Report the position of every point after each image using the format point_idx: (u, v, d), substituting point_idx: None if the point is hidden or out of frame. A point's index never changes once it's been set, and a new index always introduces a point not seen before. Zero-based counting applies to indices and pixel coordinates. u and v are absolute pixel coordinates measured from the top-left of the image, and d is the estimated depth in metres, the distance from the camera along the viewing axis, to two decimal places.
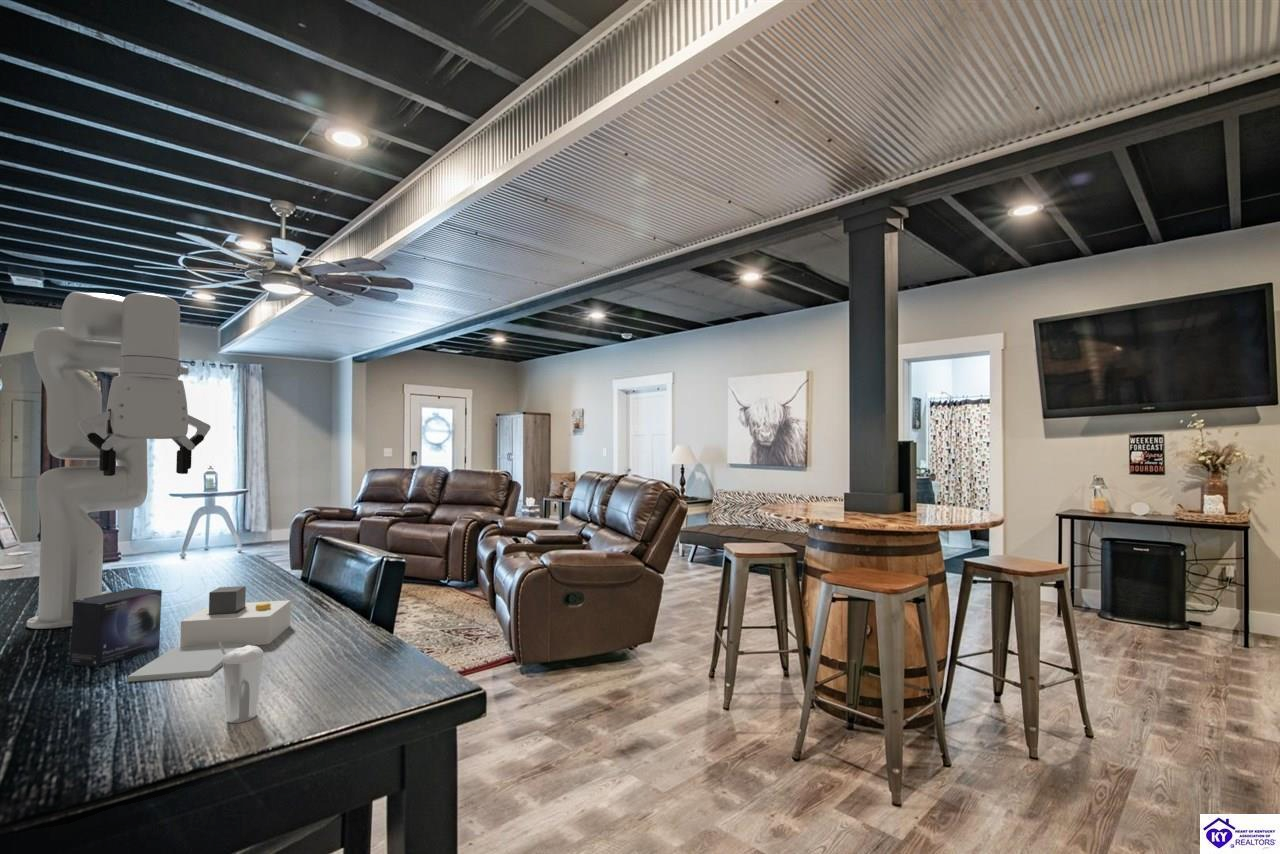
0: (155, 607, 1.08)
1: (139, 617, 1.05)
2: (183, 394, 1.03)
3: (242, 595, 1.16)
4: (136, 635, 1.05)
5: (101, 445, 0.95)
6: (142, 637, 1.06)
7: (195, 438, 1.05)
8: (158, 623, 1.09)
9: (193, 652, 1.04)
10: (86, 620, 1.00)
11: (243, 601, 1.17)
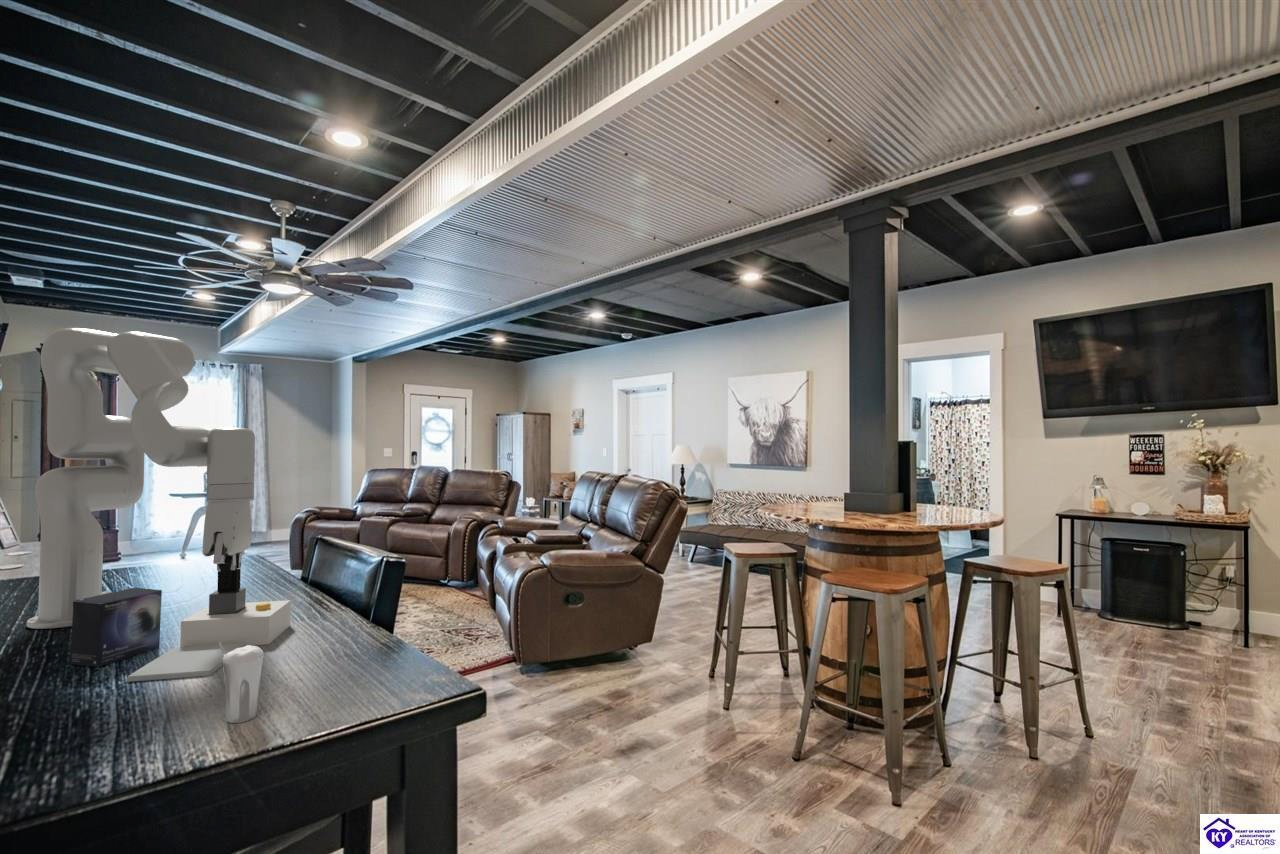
0: (155, 607, 1.08)
1: (139, 617, 1.05)
2: (250, 510, 1.20)
3: (242, 597, 1.16)
4: (136, 635, 1.05)
5: (232, 569, 1.14)
6: (142, 637, 1.06)
7: None
8: (158, 623, 1.09)
9: (193, 652, 1.04)
10: (86, 620, 1.00)
11: (243, 603, 1.16)
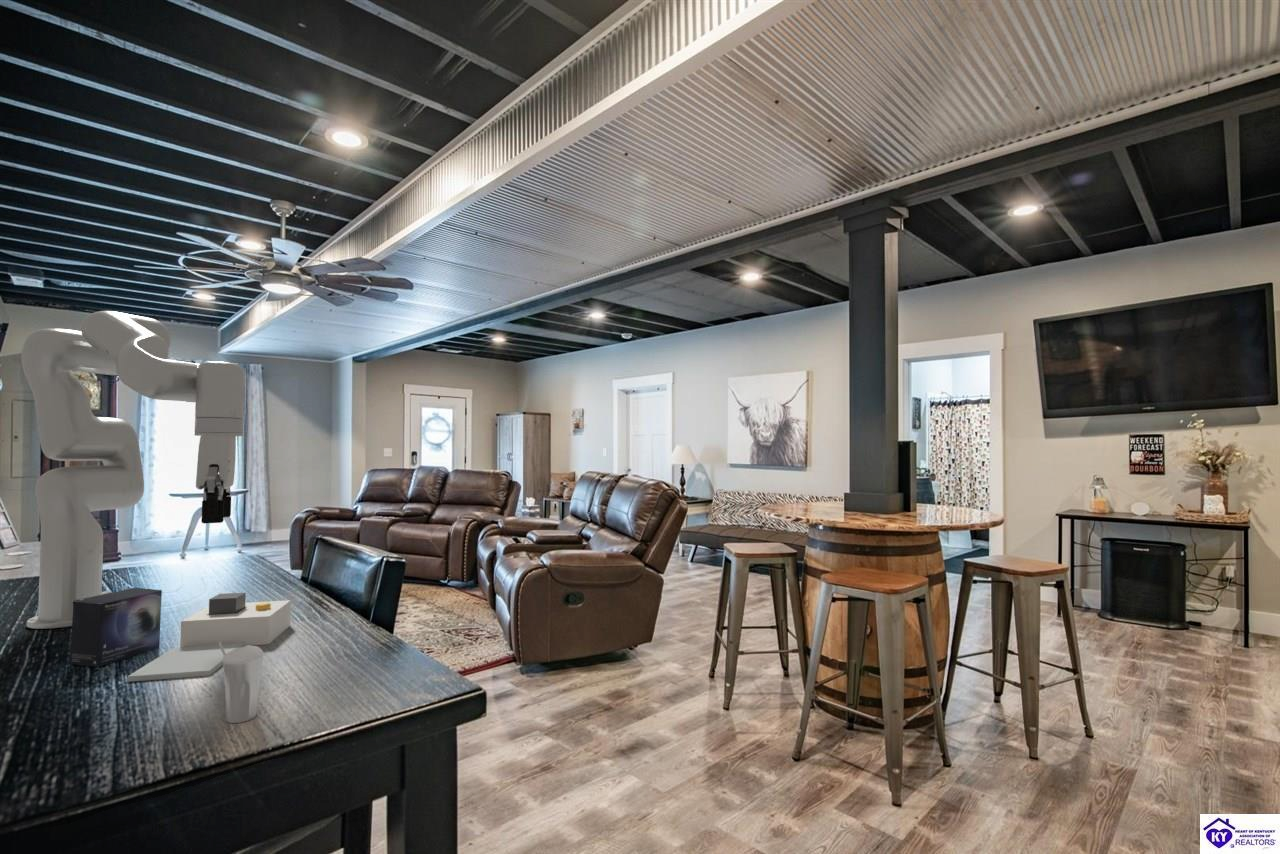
0: (155, 607, 1.08)
1: (139, 617, 1.05)
2: None
3: (242, 602, 1.16)
4: (136, 635, 1.05)
5: (219, 496, 1.09)
6: (142, 637, 1.06)
7: None
8: (158, 623, 1.09)
9: (193, 652, 1.04)
10: (86, 620, 1.00)
11: (243, 608, 1.16)
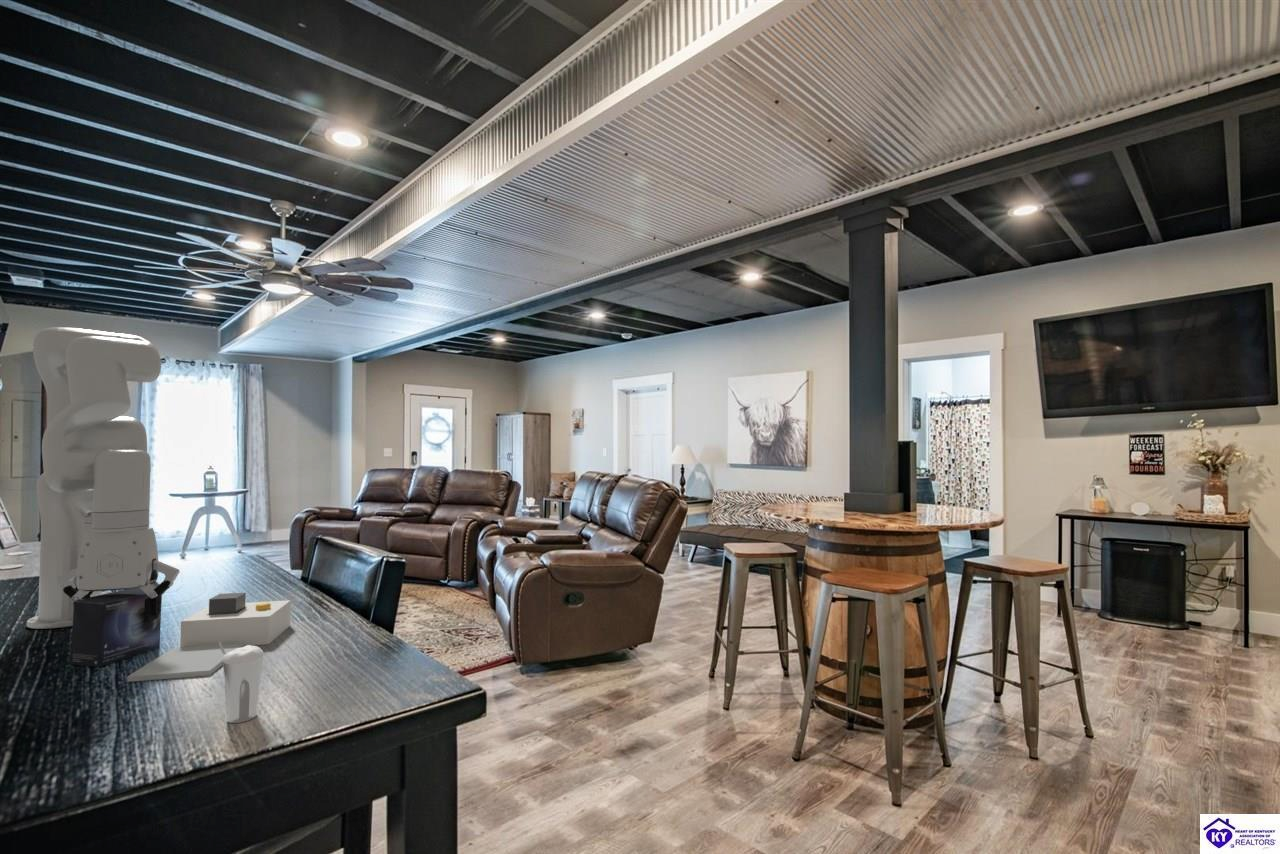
0: None
1: (140, 616, 1.05)
2: None
3: (242, 602, 1.16)
4: (137, 634, 1.05)
5: (163, 590, 1.07)
6: (142, 637, 1.06)
7: (78, 588, 1.04)
8: (158, 623, 1.09)
9: (193, 652, 1.04)
10: (87, 620, 1.00)
11: (243, 608, 1.16)
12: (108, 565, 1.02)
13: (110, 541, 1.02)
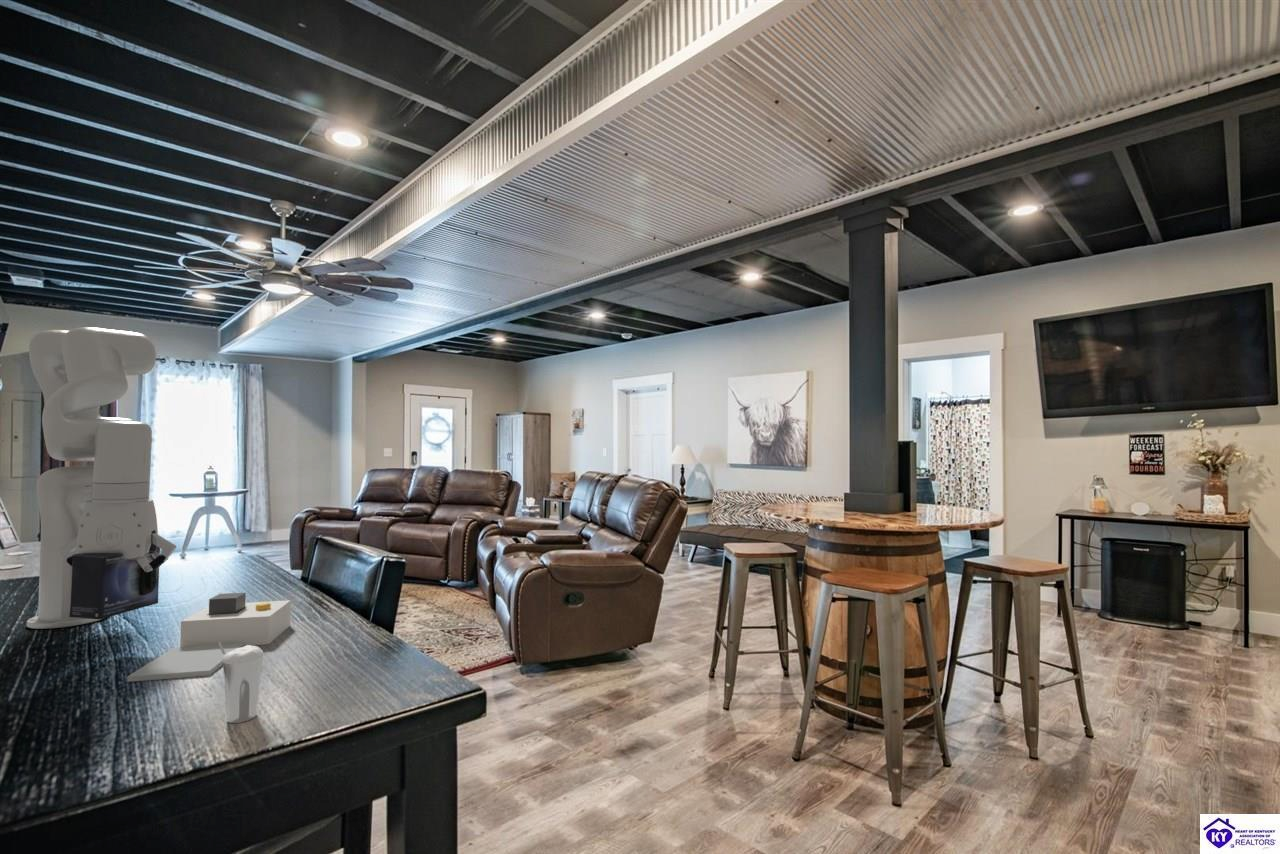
0: None
1: (139, 572, 1.06)
2: None
3: (242, 602, 1.16)
4: (136, 589, 1.06)
5: None
6: None
7: None
8: (157, 579, 1.10)
9: (193, 652, 1.04)
10: (87, 574, 1.00)
11: (243, 608, 1.16)
12: (108, 535, 1.03)
13: (110, 512, 1.03)
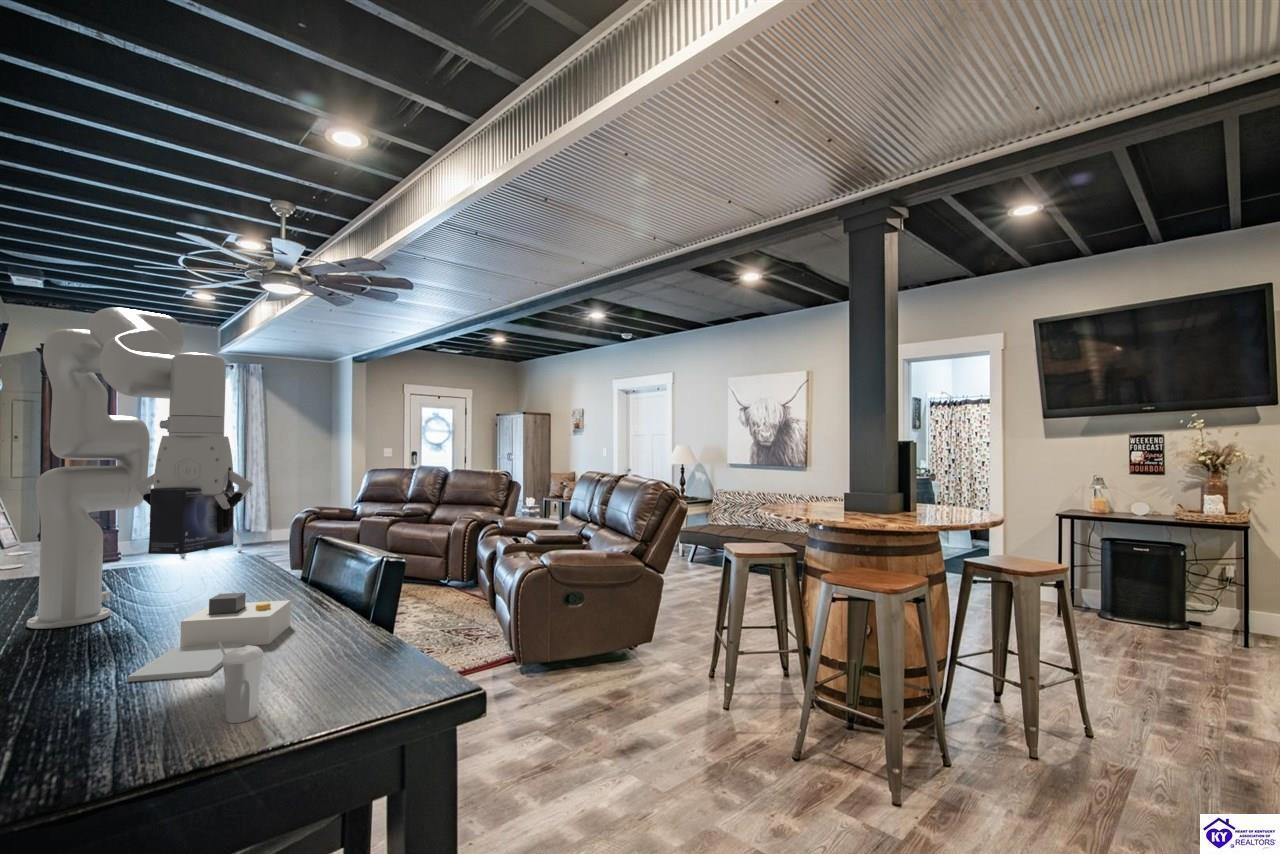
0: None
1: (216, 509, 1.02)
2: None
3: (242, 602, 1.16)
4: (214, 527, 1.02)
5: (235, 503, 1.04)
6: None
7: None
8: (232, 519, 1.06)
9: (193, 652, 1.04)
10: (166, 508, 0.97)
11: (243, 608, 1.16)
12: (186, 470, 0.99)
13: (188, 446, 1.00)
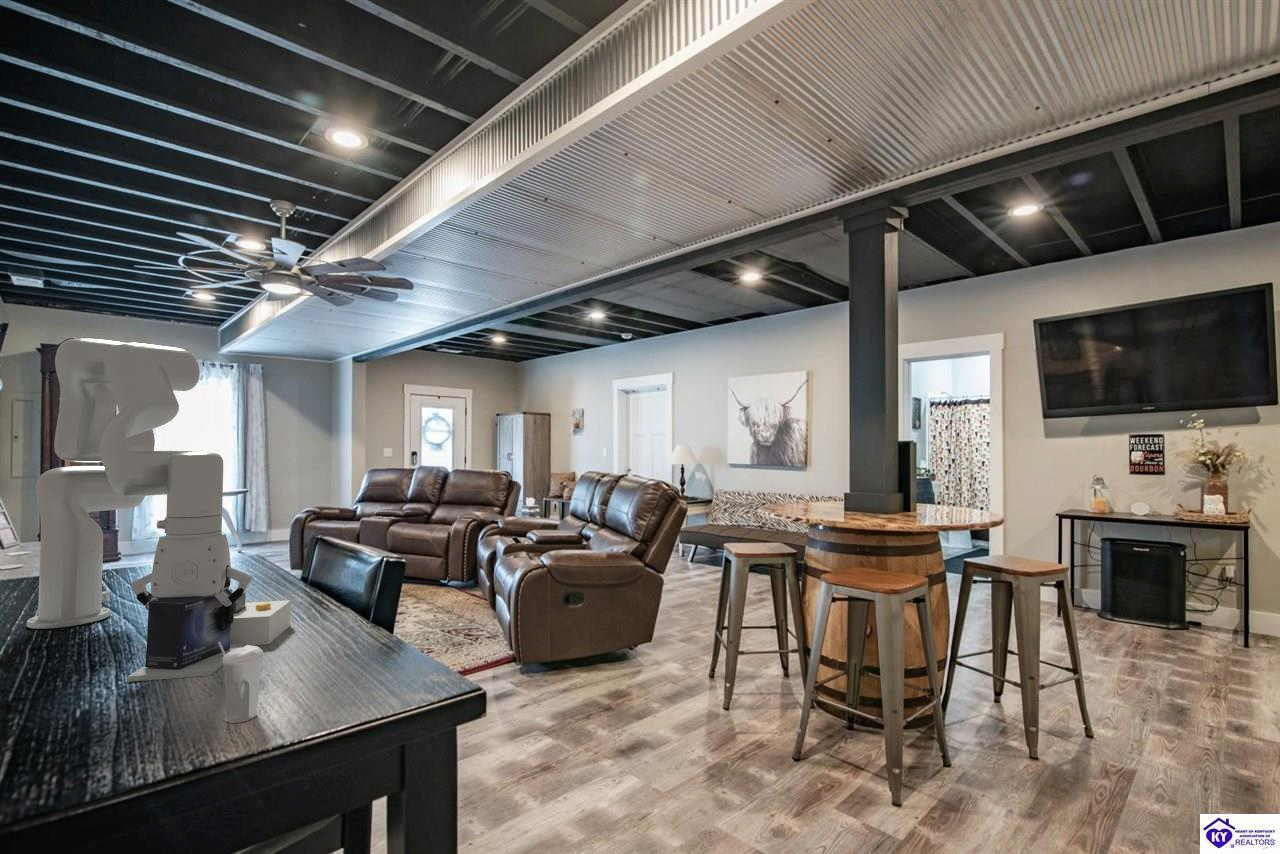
0: None
1: (214, 617, 1.02)
2: None
3: (242, 602, 1.16)
4: (211, 635, 1.01)
5: None
6: (216, 637, 1.02)
7: (150, 595, 1.01)
8: None
9: None
10: (165, 621, 0.96)
11: (243, 608, 1.16)
12: (183, 572, 0.99)
13: (185, 547, 0.99)
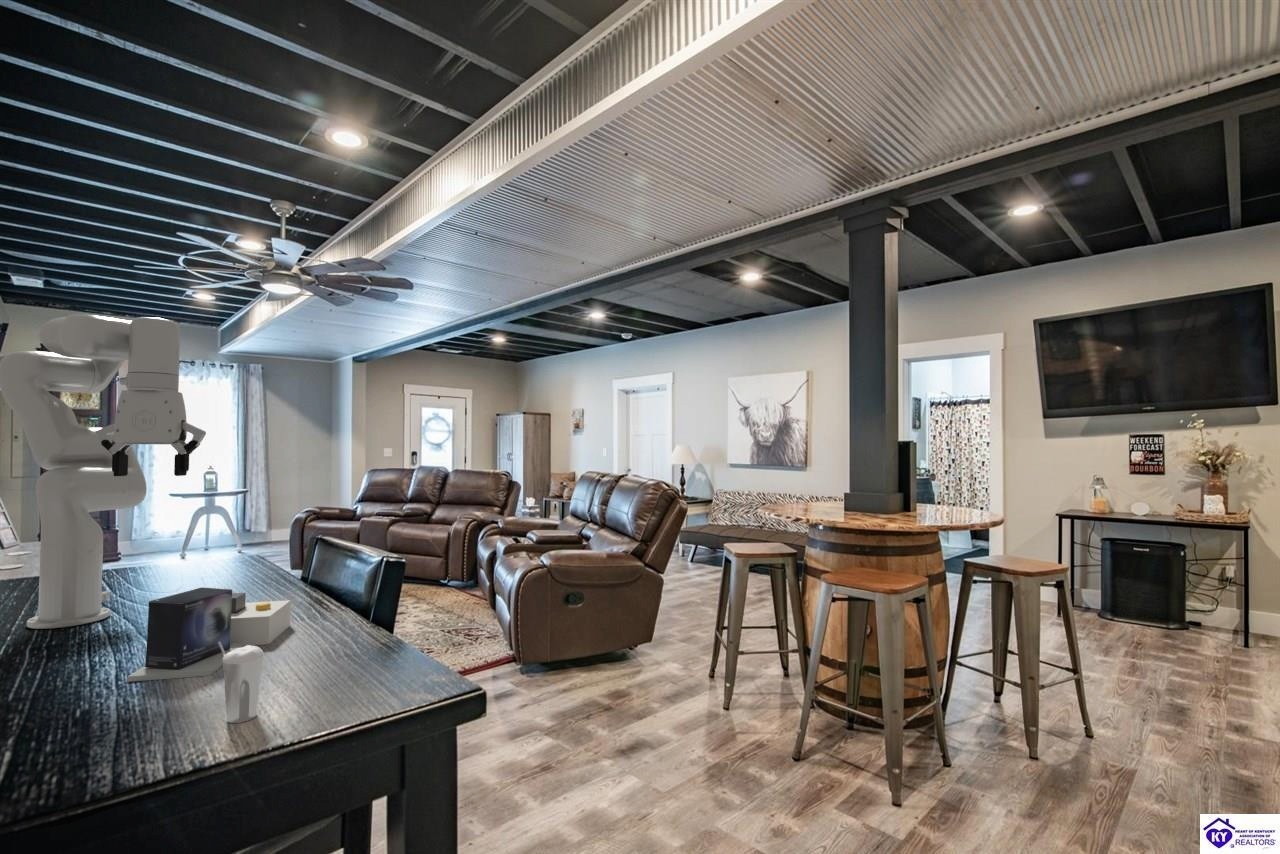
0: (227, 607, 1.05)
1: (214, 617, 1.02)
2: None
3: (242, 602, 1.16)
4: (211, 635, 1.01)
5: (191, 450, 1.17)
6: (216, 638, 1.02)
7: (114, 443, 1.14)
8: (229, 623, 1.05)
9: None
10: (165, 621, 0.96)
11: (243, 608, 1.16)
12: (142, 421, 1.12)
13: (144, 399, 1.12)
